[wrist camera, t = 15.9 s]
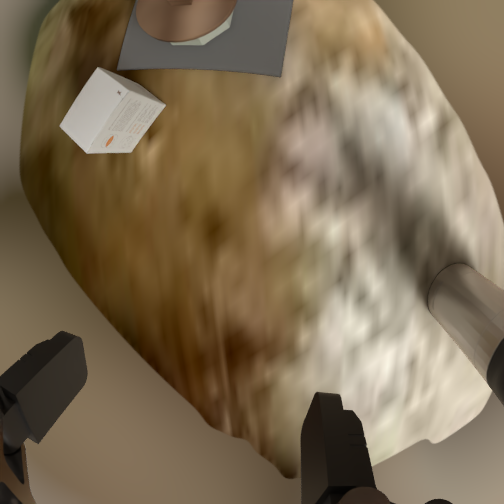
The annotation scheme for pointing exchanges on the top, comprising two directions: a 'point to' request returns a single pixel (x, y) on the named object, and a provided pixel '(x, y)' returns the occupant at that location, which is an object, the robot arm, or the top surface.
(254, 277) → the top surface
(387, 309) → the top surface
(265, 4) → the mat
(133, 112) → the small box
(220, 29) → the bowl
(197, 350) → the top surface
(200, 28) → the lid
